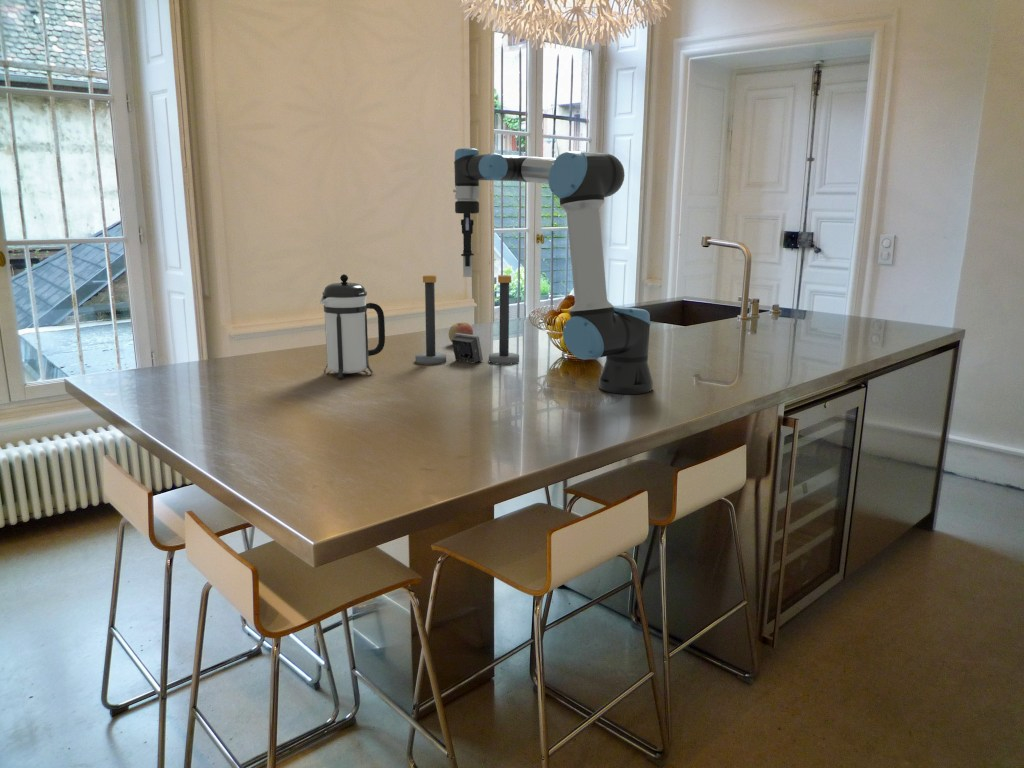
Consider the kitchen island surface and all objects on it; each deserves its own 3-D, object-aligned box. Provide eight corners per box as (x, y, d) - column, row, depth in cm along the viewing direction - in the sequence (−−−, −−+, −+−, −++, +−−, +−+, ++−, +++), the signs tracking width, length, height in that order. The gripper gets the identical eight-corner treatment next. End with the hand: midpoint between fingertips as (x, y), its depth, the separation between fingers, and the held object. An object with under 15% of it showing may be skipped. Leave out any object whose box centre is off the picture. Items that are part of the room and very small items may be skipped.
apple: (474, 343, 280) (474, 321, 278) (470, 347, 271) (470, 325, 270) (451, 342, 281) (450, 321, 279) (446, 347, 272) (446, 325, 270)
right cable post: (520, 364, 245) (521, 277, 238) (489, 364, 244) (489, 277, 238) (518, 358, 254) (519, 274, 248) (488, 358, 254) (488, 274, 247)
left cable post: (445, 364, 243) (444, 277, 237) (414, 364, 243) (412, 277, 236) (446, 358, 253) (445, 274, 246) (416, 358, 253) (414, 273, 246)
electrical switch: (483, 362, 249) (481, 334, 246) (474, 366, 244) (472, 338, 242) (460, 358, 253) (458, 331, 251) (451, 362, 249) (449, 335, 246)
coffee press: (365, 381, 220) (361, 277, 213) (314, 378, 223) (308, 276, 216) (386, 368, 237) (383, 272, 230) (338, 366, 240) (334, 270, 233)
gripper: (455, 200, 242) (456, 274, 248) (454, 200, 230) (455, 278, 235) (478, 200, 243) (479, 274, 248) (479, 200, 230) (479, 278, 236)
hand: (467, 276), depth 242 cm, fingers closed
